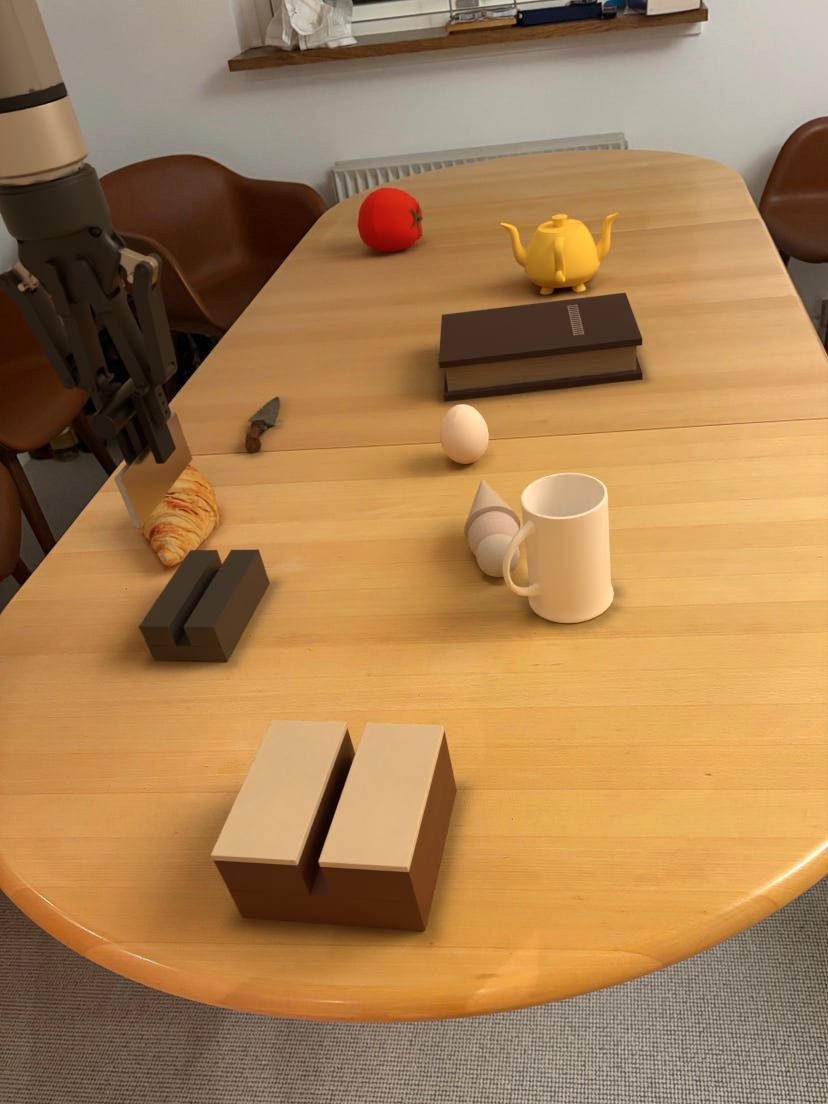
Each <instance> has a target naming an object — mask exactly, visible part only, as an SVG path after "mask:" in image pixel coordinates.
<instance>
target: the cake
mask: <svg viewBox="0 0 828 1104" xmlns="http://www.w3.org/2000/svg"><path fill="white" fill-rule="evenodd" d="M452 764H453V763H452V760H451V755H450V750H449V744H448V740H447V735H446V731H445V726H444V724H430V723H429V724H428V723H427V724H426V723H424V724H423V723H393V722H392V723H391V722H389V723H387V722H365V725H364V728H363V731H362V734H361V736H360V739H359V742H358V745H357V748H356V751H355V747H354V744H353V741H352V738H351V735H350V731H349V727H348V723H347V721H329V720H328V721H326V720H323V721H322V720H294V719H293V720H291V719H289V720H287V719H271V721H270V722H269V725H268V727H267V729H266V732H265V734H264V736H263V738H262V741H261V742H260V744H259V747H258V749H257V752H256V754H255V756H254V758H253V760H252V763H251V764H250V767H249V769H248V772H247V773H246V776H245V777H244V780H243V783H242V785H241V787H240V788H239V791H238V793H237V796H236V798H235V800H234V802H233V805H232V807H231V809H230V811H229V814H228V816H227V818H226V820H225V822H224V825H223V827H222V829H221V831H220V834H219V835H218V838H217V840H216V841H215V843H214V847H213V848H212V851H211V853H210V857H211V859H212V861H213V862H214V864H215V866H216V868H217V871H218V872H219V874H220V876H221V878H222V881H223V882H224V885H225V886H226V888H227V889H228V892H229V895H230V896H231V898H232V900H233V902H234V904H235V906H236V908H237V910H238V912H239V913H240V916H241V917H242V918H246V919H261V920H273V921H285V922H286V921H287V922H299V923H300V922H301V923H313V924H328V925H341V926H353V927H367V928H379V929H380V928H382V929H395V930H408V931H421V932H425V931H426V929H427V926H428V922H429V916H430V912H431V907H432V902H433V898H434V894H435V889H436V885H437V882H438V881H437V880H438V875H439V871H440V867H441V863H442V859H443V858H442V857H443V853H444V850H445V844H446V839H447V836H448V831H449V827H450V822H451V818H452V814H453V808H454V805H455V799H456V795H457V790H458V789H457V786H456V785H457V784H456V780H455V779H456V778H455V775H454V770H453V765H452Z"/></svg>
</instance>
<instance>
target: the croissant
mask: <svg viewBox="0 0 828 1104" xmlns="http://www.w3.org/2000/svg"><path fill="white" fill-rule="evenodd" d="M220 517H221V516H220V512H219V506H218V502H217V497H216V492H215V489H214V487H213V486H212V484H211V482H210V480H209V478H207V477H206V475H204V474H202V473H201V472H200V471H199V470H198V469H197V468H195V467H193V466H191V465H190V464H189V465H188V466H187V467H186V469H185V470H184V471H183V473H182V474H181V475H180V477H179V478H178V479H177V481H176V482H175V483H174V485H173V486H172V487H171V489H170V490H169V491H168V493H167V494H166V495H165V497H164V498H163V499H162V501H161V502H160V503H159V505H158V506H157V507H156V509H155V510H154V511H153V513H152V514H151V515H150V517H149V518H148V519H147V521H146V522H145V523H144V525H143V526H142V527H141V528H139V532H140V534H141V536H142V537H144V538H145V539H148V541H149V543H150V546H151V548H152V550H153V551H155V552H157V557H158V559H159V560H160V561H161V563H162V564H163V565H164V566H167V567H173V566H176V565H178V564H180V563H182V562H183V560H184V559H185V557H186V556H187V554H188V553H189V551H190V550H198V549H199V548H200V546H201V544H203V542H204V541H205V540H207V539H208V537H209V536H210V534H211V533H212V531H213V530H214V528H216V527H218V525H219V523H220V521H221V520H220V519H221V518H220Z"/></svg>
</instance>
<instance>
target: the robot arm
mask: <svg viewBox="0 0 828 1104" xmlns="http://www.w3.org/2000/svg"><path fill="white" fill-rule="evenodd" d="M83 134H84V133H83V132H82V128H81V126H80V123H79V120H78V117H77V114H76V111H75V109H74V106H73V103H72V100H71V98H70V94H69V93H68V90H67V87H66V84H65V82H64V80H63V76H62V74H61V70H60V68H59V65H58V62H57V59H56V56H55V53H54V50H53V47H52V45H51V41H50V39H49V35H48V33H47V30H46V26H45V23H44V21H43V18H42V14H41V11H40V8H39V5H38V2H37V0H0V217H1V218H2V221H3V223H4V225H5V228H6V230H7V232H8V233H9V235H10V236H11V237H12V238H14V239H15V240H16V243H17V259H18V262H16V263H15V264H14V265H12V266H11V267H10V268H8V269H6V270H5V271H3V272H2V273H0V288H1V289H2V290H3V291H4V292H5V293H6V294H7V295H8V296H9V297H10V299H12V301H13V302H14V303H15V304H16V305H17V307H18V309H19V310H20V312H21V314H22V316H23V317H24V320H25V321H26V323H27V325H28V326H29V328H30V330H31V332H32V333H33V335H34V337H35V339H36V341H37V342H38V344H39V346H40V347H41V350H42V351H43V353H44V355H45V357H46V358H47V360H48V361H49V364H50V366H51V368H52V369H53V370H54V372H55V374H56V376H57V378H58V380H59V381H60V383H61V385H62V386H63V387H64V388H65V389H67V390H73V389H78V390H81V391H84V392H85V393H86V394H87V395H89V397H90V398H91V401H92V403H93V405H94V408H95V410H96V412H97V411H98V410H99V409H100V408H101V407H102V406H103V405H104V404H105V403H106V402H107V401H108V400H109V399H110V398H111V397H112V396H113V395H114V394H115V393H116V392H117V391H118V390H119V389H120V388H121V387H122V386H123V385H122V382H112V383H111V384H110V383H109V382H110V381H112V380H113V379H114V377H115V373H111V372H109V369H108V366H107V362H106V359H105V355H104V351H103V348H102V345H101V342H100V339H99V334H98V330H97V328H96V324H95V321H94V318H93V314H92V311H91V308H92V310H93V311H94V313H95V314H96V315H98V316H100V318H101V320H102V322H103V324H104V326H105V328H106V330H107V332H108V334H109V336H110V338H111V340H112V343H113V344H114V346H115V348H116V350H117V352H118V354H119V357H120V358H121V361H122V363H123V364H124V366H125V368H126V371H127V373H128V375H129V377H130V378H131V379H132V381H133V383H134V385H135V387H136V388H135V389H134V390H133V391H132V392H133V393H132V394H131V395H130V397H131V399H132V402H133V404H134V407H135V410H136V412H137V415H138V417H139V420H140V423H141V425H142V428H143V430H144V433H145V435H146V438H147V441H148V443H149V446H150V448H151V451H152V454H153V456H154V459H155V461H156V464H164V463H165V462H166V461H167V460H168V458H169V457H170V456H171V455H172V453H173V452H174V451H175V449H176V447H175V444H174V441H173V438H172V436H171V433H170V430H169V427H168V425H167V421H168V420H169V419H170V418H171V412H172V411H171V407H170V405H169V402H168V400H167V397H166V394H165V390H164V388H163V386H162V385H165V384H166V383H168V380H170V379H171V378H172V376H173V375H174V374H175V373H176V372H177V371H178V369H179V368H178V361H177V356H176V352H175V348H174V344H173V338H172V334H171V330H170V325H169V320H168V316H167V315H168V314H167V311H166V306H165V301H164V297H163V292H162V288H161V279H162V269H163V259H162V258H161V256H160V255H159V254H157V253H154V252H151V253H149V254H148V255H143V254H141V253H140V252H137V251H135V250H132V249H130V248H127V245H126V243H125V241H124V239H123V238H122V237H121V236H120V235H119V233H118V232H117V231H116V230H115V228H114V226H113V223H112V217H111V211H110V207H109V203H108V201H107V198H106V195H105V192H104V190H103V187H102V184H101V181H100V178H99V175H98V173H97V170H96V168H95V167H94V166H92V164H90V163H88V162H84V160H85V159H86V158H87V157H88V154H89V149H88V146H87V144H86V140H85V138H84V135H83ZM123 268H124V269H125V270H126V280H127V282H128V283H129V284H132V297H133V298H132V299H133V302H134V306H135V310H136V315H137V318H138V322H137V321H136V318H135V316H134V314H133V312H132V310H131V308H130V305H129V304H128V294H127V292H126V289H125V288H124V287H125V286H124V285H123V283H122V281H121V276H122V273H123ZM40 283H41V284H40ZM43 286H44V287H45V288H46V289H47V290H48V291H49V294H50V297H49V295H48V294H47V292H46V291H45V289H44V287H43ZM50 298H51V299H50ZM51 300H52V301H51ZM138 323H139V325H138ZM114 438H115V440H116V443H117V445H118V447H119V450H120V452H121V454H122V457H123V459H124V461H125V465H126V464H127V462H128V461H129V460H130V459H131V458H132V456H133V455H134V454H135V453H136V452H137V451H135V449H134V447H133V444H132V442H131V439H130V437H129V434H128V432H127V429H126V427H125V425H124V426H123V428H122V429H121V430H120V431H119V432H118V433H117V434H116V435H115V436H114Z"/></svg>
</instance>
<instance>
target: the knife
mask: <svg viewBox="0 0 828 1104" xmlns="http://www.w3.org/2000/svg"><path fill="white" fill-rule="evenodd" d="M280 406H281V405H280V397H279V396H275V397H274V398H272V399H270V400H269V401H267V402H266V403H265V404H264V405H262V407H261V408H259V410H257V411H256V412H255V413H254V414H253V415H252V416H250V417H249V419H247V422H251V423H250V424H249V426H248V427H250V429H249V431H247V432H246V434H245V444H244V446H245V450H246V451H247V452H248V453H251V454H256V453H258V452H260V450H261V448H262V442H261V439H260V438H259V436H260V435H261V434H262V433H263V431H267V430H268V428H269V427H271V426H272V427H273V426H275V424H276V418H277V415H278V411H279V409H280Z"/></svg>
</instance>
